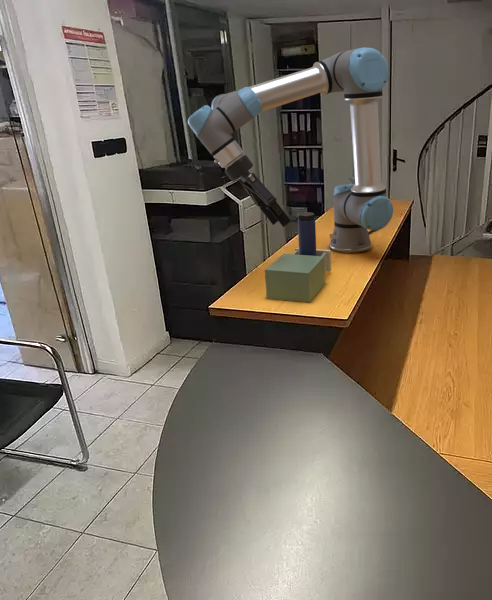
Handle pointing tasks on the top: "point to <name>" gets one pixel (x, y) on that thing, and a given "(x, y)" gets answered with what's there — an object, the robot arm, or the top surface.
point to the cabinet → (295, 277)
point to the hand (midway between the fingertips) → (281, 223)
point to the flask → (307, 234)
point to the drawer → (321, 253)
